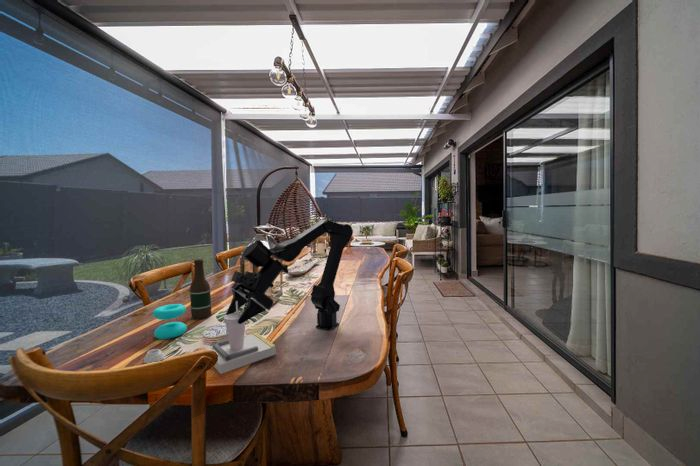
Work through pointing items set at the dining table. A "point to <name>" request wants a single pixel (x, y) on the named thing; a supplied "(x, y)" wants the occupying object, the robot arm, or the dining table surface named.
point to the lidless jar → (153, 356)
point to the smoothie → (235, 330)
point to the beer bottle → (200, 293)
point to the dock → (242, 352)
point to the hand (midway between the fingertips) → (232, 319)
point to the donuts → (173, 327)
